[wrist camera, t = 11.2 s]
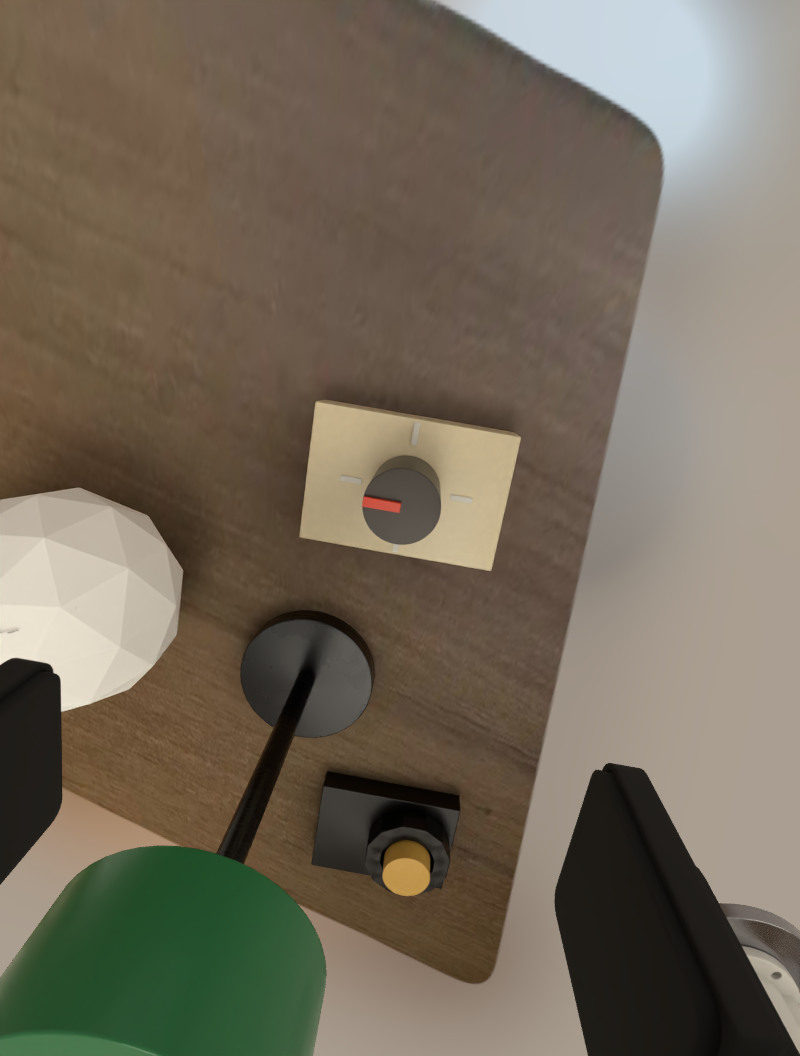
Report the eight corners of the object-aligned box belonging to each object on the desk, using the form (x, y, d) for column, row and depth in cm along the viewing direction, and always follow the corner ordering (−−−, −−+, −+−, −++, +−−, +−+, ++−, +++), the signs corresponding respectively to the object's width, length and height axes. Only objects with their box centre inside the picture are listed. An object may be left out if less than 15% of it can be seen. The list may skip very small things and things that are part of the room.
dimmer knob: (446, 461, 35) (448, 476, 30) (433, 527, 36) (433, 552, 31) (377, 449, 35) (367, 462, 30) (367, 516, 36) (356, 539, 31)
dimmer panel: (514, 432, 37) (521, 437, 34) (487, 557, 39) (491, 572, 36) (324, 399, 37) (314, 401, 34) (308, 525, 40) (298, 538, 37)
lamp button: (433, 843, 43) (433, 863, 41) (425, 879, 44) (425, 900, 42) (388, 835, 43) (386, 854, 41) (381, 871, 44) (378, 891, 42)
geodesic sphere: (12, 741, 39) (-26, 827, 26) (-121, 570, 36) (-234, 577, 24) (203, 619, 46) (244, 642, 33) (104, 466, 43) (109, 428, 30)
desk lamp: (391, 618, 41) (308, 1077, 14) (369, 741, 44) (266, 1314, 17) (247, 592, 41) (-106, 998, 14) (235, 717, 44) (-75, 1247, 17)
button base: (459, 795, 45) (461, 829, 42) (441, 871, 47) (441, 909, 44) (327, 771, 45) (318, 803, 42) (315, 847, 47) (306, 884, 44)
